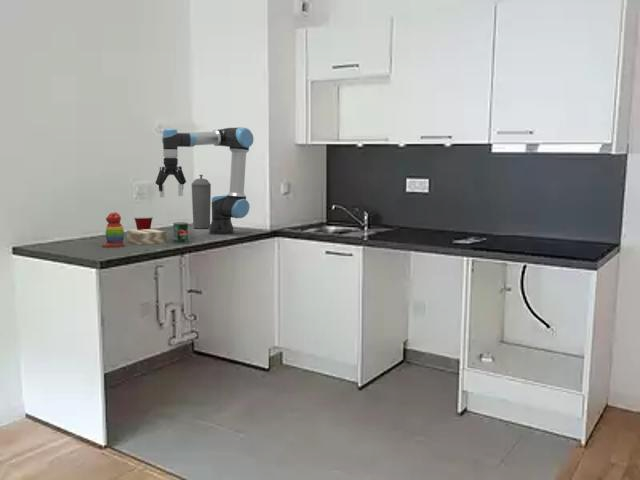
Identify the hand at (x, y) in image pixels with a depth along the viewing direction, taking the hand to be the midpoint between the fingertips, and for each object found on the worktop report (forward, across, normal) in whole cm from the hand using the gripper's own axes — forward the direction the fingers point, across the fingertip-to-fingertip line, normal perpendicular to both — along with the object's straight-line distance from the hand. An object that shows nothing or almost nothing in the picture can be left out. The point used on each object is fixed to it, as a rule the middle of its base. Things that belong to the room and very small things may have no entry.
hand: (171, 196), depth 340 cm
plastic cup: (+26, -4, -28) cm, 38 cm away
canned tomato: (+26, -2, +4) cm, 26 cm away
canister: (+26, -57, -33) cm, 70 cm away
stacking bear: (+25, +28, -14) cm, 40 cm away
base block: (+25, +8, -12) cm, 29 cm away
